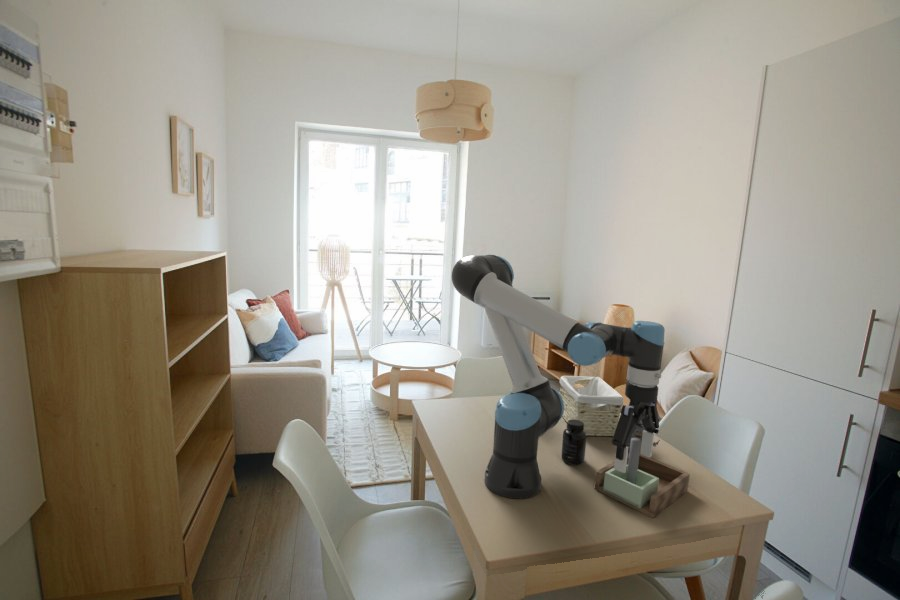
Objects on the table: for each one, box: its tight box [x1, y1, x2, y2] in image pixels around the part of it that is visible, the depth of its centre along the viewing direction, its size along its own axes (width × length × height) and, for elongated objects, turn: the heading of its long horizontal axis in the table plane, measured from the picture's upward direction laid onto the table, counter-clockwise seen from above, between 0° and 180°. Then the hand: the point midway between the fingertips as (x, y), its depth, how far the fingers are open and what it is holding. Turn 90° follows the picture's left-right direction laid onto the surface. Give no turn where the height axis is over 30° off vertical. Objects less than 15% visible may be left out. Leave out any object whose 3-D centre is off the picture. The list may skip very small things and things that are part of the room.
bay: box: [594, 453, 691, 519], centre depth 123 cm, size 20×16×5 cm
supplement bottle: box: [561, 419, 587, 466], centre depth 138 cm, size 7×7×12 cm
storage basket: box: [559, 375, 624, 437], centre depth 166 cm, size 24×16×15 cm
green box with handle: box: [603, 438, 659, 508], centre depth 118 cm, size 9×10×15 cm
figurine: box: [627, 410, 661, 451], centre depth 144 cm, size 9×12×15 cm
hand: (633, 462), depth 118 cm, fingers open, 13 cm apart
